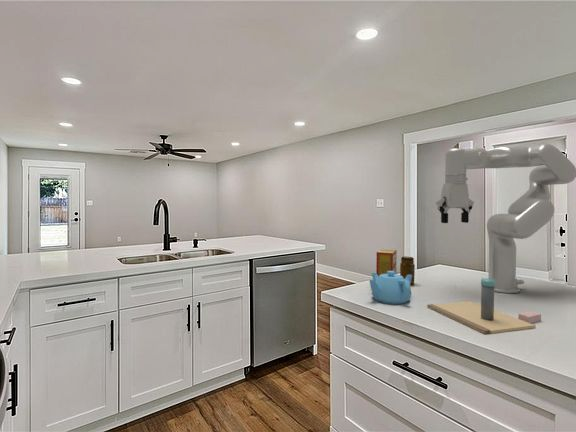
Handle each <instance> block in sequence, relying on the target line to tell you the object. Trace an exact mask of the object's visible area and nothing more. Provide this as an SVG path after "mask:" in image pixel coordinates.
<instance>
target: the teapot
mask: <svg viewBox="0 0 576 432" xmlns="http://www.w3.org/2000/svg"><path fill="white" fill-rule="evenodd" d="M387 273H388V274H381V275H380V276H378V275H377V273H376V272H372V273H371V275H372V279H369V284H370V290H371V295H372V297H373V298H374V299H375V300H376V301H377V302H380V303H382V302H383V303H384V304H387V303H388V304H387V305H402V304H406V303H407V302H409V300H410V299H411V295H412V289H411V288H412V287H411V286H410V284H411V279H412V275H407V276H406V278H405V279H404V278H403V277H402V276H401V275H400V274H397V273H396V274H395V272H394V271H387Z"/></svg>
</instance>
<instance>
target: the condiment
mask: <svg viewBox="0 0 576 432" xmlns="http://www.w3.org/2000/svg"><path fill="white" fill-rule="evenodd" d="M414 262H415V260H414V257H412V256H401V260H400V265H399V266H400V267H399V275H401V276H402V277H403V278H404V279H405V278H406V276H407V275H412V279H411V284H410V287H420V286H422V285H420V284H418V283H415V275H416V274H415V272H416V271H415V269H416V268H415V267H416V266H415V263H414Z"/></svg>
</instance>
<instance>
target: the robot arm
mask: <svg viewBox="0 0 576 432" xmlns="http://www.w3.org/2000/svg"><path fill="white" fill-rule="evenodd" d="M444 159H445V167H444V168H445V169H444V170H445V171H444V176H445V177H444V183H442V187H441V191H440V192H441V194H440V199H439V200H437V201H436V202H435V205H436V209H437V210H438V211H439V213H440V222H441V223H442V224H448V223H449V213H448V211H449V210H450V209H460V210H461V212H460V213H461V214H460V215H461V217H460V222H461V223H467V224H468V223H469V220H470V219H469V214H470V213H471V211H472V209H473V207H474V203H475V201H474V200H471V199H470V197H469V188H468V183H467V181H468V177H467V170H477V169H478V170H479V169H509V168H531V167H534V168H533V169H532V170H531V171H530V172H529V176H528V179H529V180H528V181H529V186H528V190H527V191H525V193H524V194H523V195H521V196H520V197H519V198H517V199H516V200H515V201H513V202H512V203H511V205H509V207H508V210H507V213H497V214H493V215H492V216H491V215H490V217H489V218H488V219H487V222H486V231H487V235H488V278H487V279H493V280H495V286H494V293H495V292H496V293H503V294H504V293H505V294H518V293H520V292H521V289H520V287H518V286H519V285H524V284H525V280H523V279H517V277H516V276H517V274H516V273H517V244H516V241H515V240H514V239H518V240H524V239H525V240H526V239H528V238H530V237H532V236H533V235H535V234H536V233H537V232H538V231H539V230H541V229H542V228H543V227H545V225H546V224H548V223H549V222H550V221H551V220H552V218H553V216H554V213H555V205H554V204H553V202H552V201H550V199H551V193H550V189H549V186H552V185H553V186H555V185H566V184H570V183H572V182H573V181H574V180H575V179H576V166H575V164H574V163H573V162H572V161H571V160H570V159H569V158H568V157H567V156H566V155H565V154H564V153H563V152H562V151H561V150H559V149H558V147H556V146H555V145H553V144H551V143H541V144H535V145H529V146H502V147H501V146H500V147H496V148H491V149H485V148H482V147H475V148H450V149H447V150H446V152H445V158H444Z"/></svg>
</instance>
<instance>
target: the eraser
mask: <svg viewBox="0 0 576 432" xmlns="http://www.w3.org/2000/svg"><path fill="white" fill-rule="evenodd" d="M517 319H520V320H523V321H525V322H528V323H531V324H535V323H540V322H541V321H542V314H541V313H538V312H536V311H531V310H529V311H524V312H521V313H518V318H517Z"/></svg>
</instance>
